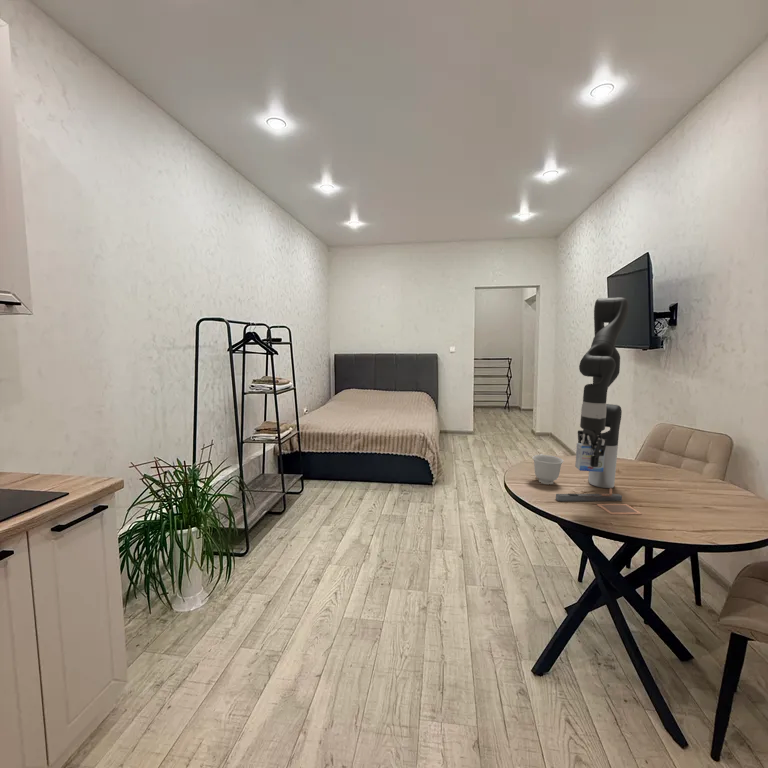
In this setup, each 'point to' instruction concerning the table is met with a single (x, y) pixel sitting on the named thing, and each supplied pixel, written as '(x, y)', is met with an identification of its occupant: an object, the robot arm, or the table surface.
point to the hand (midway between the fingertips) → (589, 463)
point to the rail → (589, 497)
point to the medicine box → (587, 459)
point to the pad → (618, 509)
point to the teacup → (547, 468)
